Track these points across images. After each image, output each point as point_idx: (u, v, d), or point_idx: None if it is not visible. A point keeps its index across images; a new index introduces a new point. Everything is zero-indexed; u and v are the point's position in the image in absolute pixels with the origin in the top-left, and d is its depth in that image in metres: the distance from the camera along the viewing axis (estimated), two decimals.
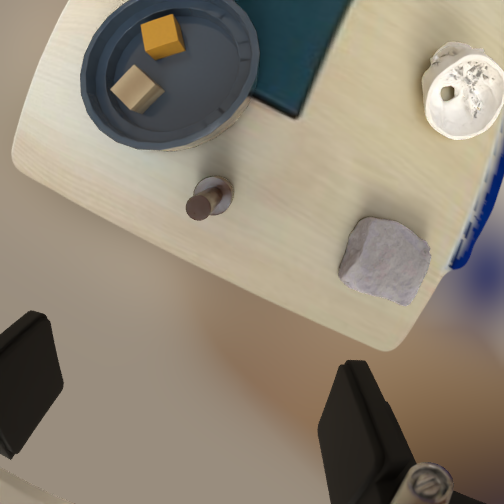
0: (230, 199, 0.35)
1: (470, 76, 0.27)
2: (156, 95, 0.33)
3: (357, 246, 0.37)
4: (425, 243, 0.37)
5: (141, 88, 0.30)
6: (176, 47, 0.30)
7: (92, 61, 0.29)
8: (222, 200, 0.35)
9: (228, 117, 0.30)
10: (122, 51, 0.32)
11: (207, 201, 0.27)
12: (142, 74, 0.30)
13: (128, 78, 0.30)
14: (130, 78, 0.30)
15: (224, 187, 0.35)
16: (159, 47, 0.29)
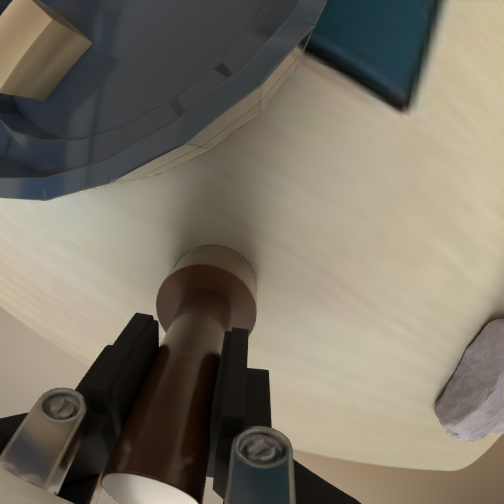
0: (252, 321, 0.13)
1: None
2: (69, 53, 0.11)
3: (482, 375, 0.15)
4: None
5: (23, 36, 0.08)
6: None
7: None
8: (231, 323, 0.13)
9: (254, 84, 0.08)
10: None
11: (183, 493, 0.05)
12: (31, 5, 0.08)
13: (4, 22, 0.08)
14: (8, 20, 0.08)
15: (236, 293, 0.13)
16: None
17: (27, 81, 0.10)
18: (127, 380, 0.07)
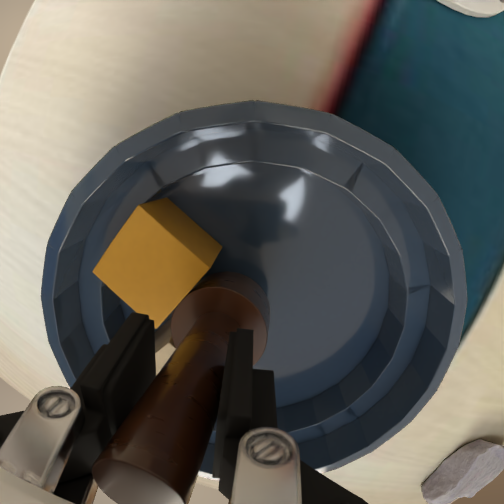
0: (260, 319, 0.13)
1: None
2: None
3: (451, 476, 0.22)
4: None
5: None
6: None
7: (65, 303, 0.14)
8: None
9: (371, 450, 0.15)
10: None
11: (143, 472, 0.05)
12: None
13: None
14: None
15: (230, 302, 0.13)
16: (120, 294, 0.14)
17: None
18: (122, 379, 0.07)
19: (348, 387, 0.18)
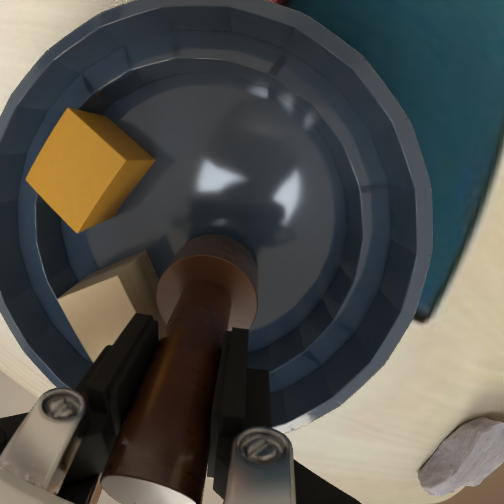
0: (251, 320, 0.13)
1: None
2: None
3: (451, 460, 0.20)
4: None
5: None
6: None
7: (0, 216, 0.12)
8: (230, 319, 0.13)
9: (337, 405, 0.13)
10: None
11: (187, 499, 0.05)
12: (132, 313, 0.13)
13: (98, 302, 0.13)
14: (103, 305, 0.13)
15: (241, 290, 0.13)
16: (47, 200, 0.12)
17: None
18: (127, 380, 0.07)
19: (308, 328, 0.17)
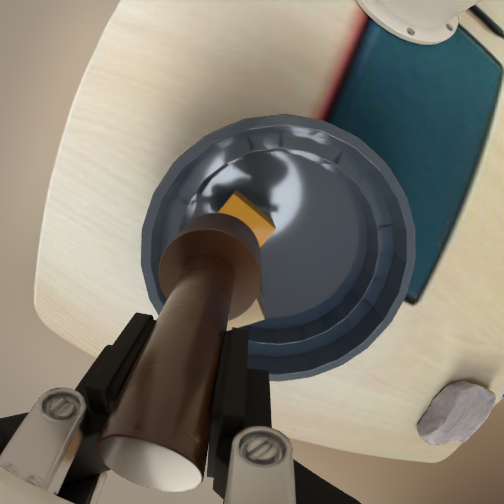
0: None
1: None
2: None
3: (441, 412, 0.32)
4: (493, 396, 0.31)
5: (244, 315, 0.25)
6: None
7: (155, 237, 0.23)
8: None
9: (366, 347, 0.24)
10: (193, 201, 0.26)
11: (192, 484, 0.05)
12: None
13: None
14: None
15: (242, 298, 0.14)
16: None
17: None
18: None
19: (345, 305, 0.28)
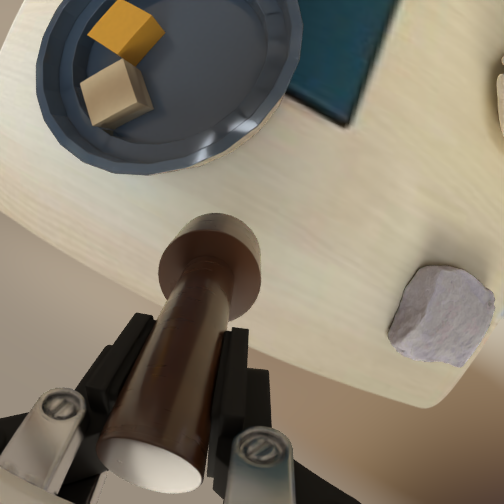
0: None
1: None
2: (138, 112, 0.22)
3: (417, 305, 0.26)
4: (491, 294, 0.26)
5: (117, 100, 0.20)
6: None
7: (54, 45, 0.18)
8: None
9: (255, 124, 0.19)
10: None
11: (192, 485, 0.05)
12: (126, 79, 0.19)
13: (107, 77, 0.19)
14: (109, 78, 0.19)
15: (242, 299, 0.13)
16: (100, 43, 0.18)
17: (110, 122, 0.21)
18: None
19: None
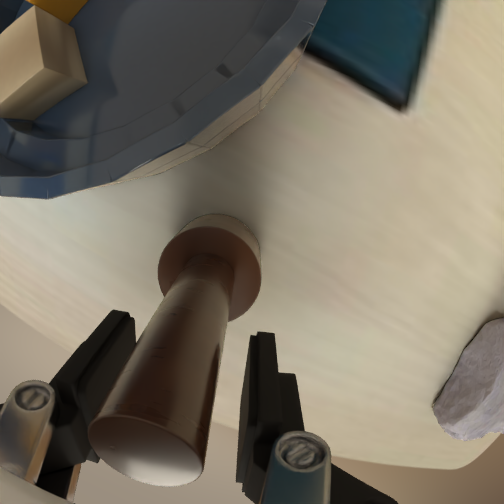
0: None
1: None
2: (61, 90, 0.12)
3: (480, 375, 0.16)
4: None
5: (18, 69, 0.09)
6: None
7: None
8: None
9: (254, 85, 0.08)
10: None
11: (191, 476, 0.05)
12: (34, 34, 0.08)
13: (10, 37, 0.08)
14: (13, 38, 0.08)
15: (242, 298, 0.13)
16: None
17: (16, 109, 0.11)
18: (97, 375, 0.07)
19: None
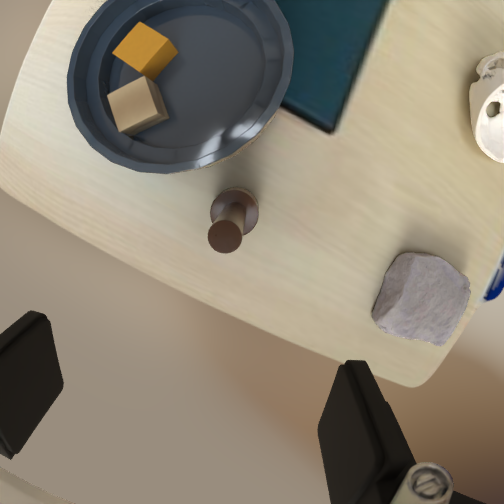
0: None
1: None
2: (157, 121, 0.27)
3: (396, 286, 0.31)
4: (466, 279, 0.31)
5: (140, 111, 0.24)
6: None
7: (82, 60, 0.23)
8: None
9: (255, 133, 0.24)
10: None
11: (237, 244, 0.20)
12: (148, 93, 0.24)
13: (131, 91, 0.24)
14: (133, 92, 0.24)
15: (249, 223, 0.29)
16: (124, 61, 0.23)
17: (133, 129, 0.26)
18: None
19: None
